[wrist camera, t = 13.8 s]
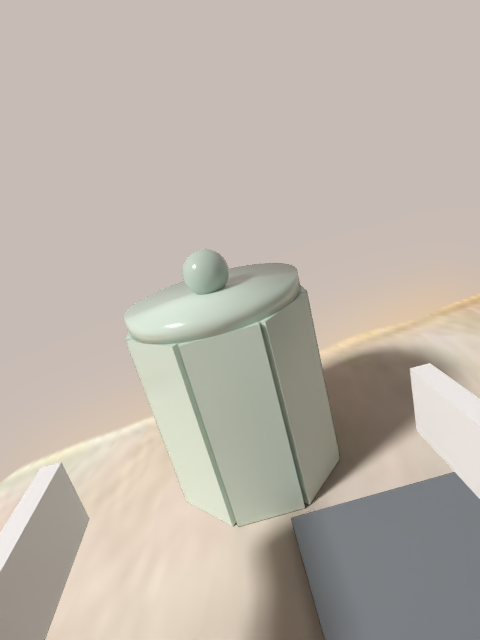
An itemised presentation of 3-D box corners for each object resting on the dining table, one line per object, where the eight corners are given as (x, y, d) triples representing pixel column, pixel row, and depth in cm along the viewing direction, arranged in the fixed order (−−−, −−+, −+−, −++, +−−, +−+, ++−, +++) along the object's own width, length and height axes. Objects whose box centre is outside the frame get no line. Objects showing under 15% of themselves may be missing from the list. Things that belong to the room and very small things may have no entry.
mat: (475, 475, 19) (475, 465, 19) (736, 734, 10) (740, 720, 10) (293, 526, 19) (290, 518, 19) (381, 839, 10) (378, 829, 10)
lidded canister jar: (309, 400, 30) (270, 222, 25) (359, 492, 20) (311, 234, 16) (189, 433, 30) (128, 260, 25) (183, 542, 20) (83, 295, 16)
